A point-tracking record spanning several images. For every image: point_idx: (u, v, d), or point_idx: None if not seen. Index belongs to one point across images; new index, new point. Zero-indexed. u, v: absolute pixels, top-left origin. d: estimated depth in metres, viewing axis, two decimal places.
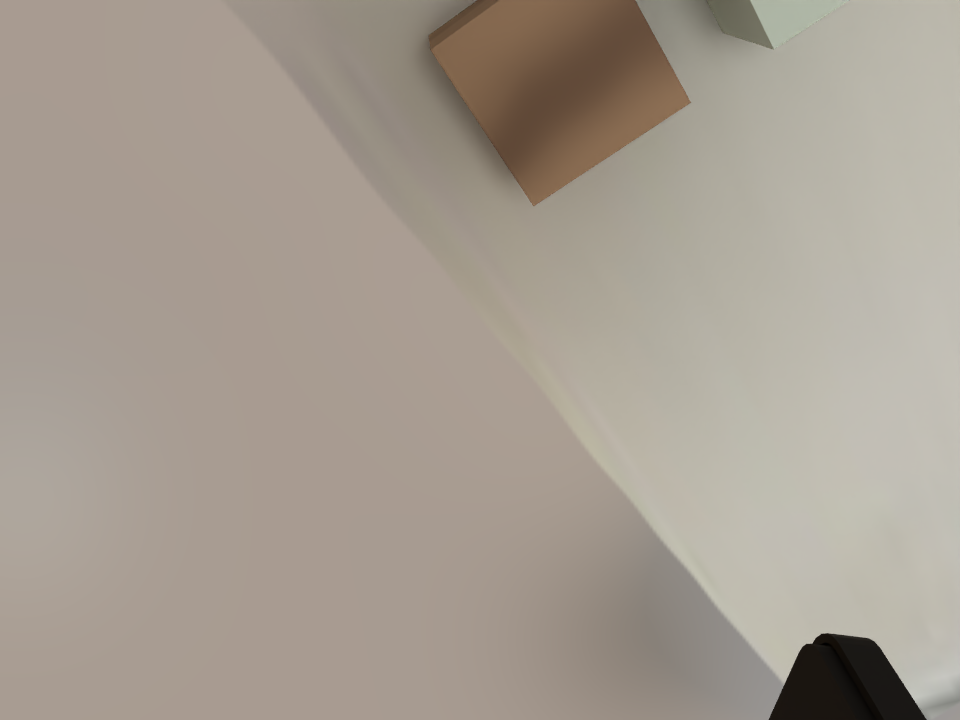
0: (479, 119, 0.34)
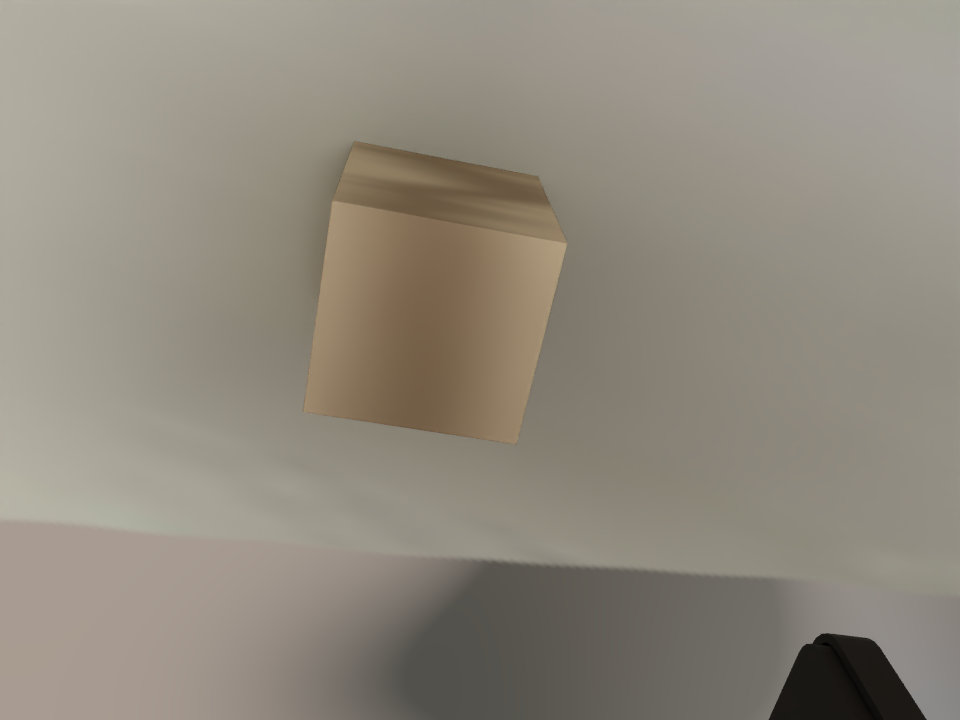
0: None
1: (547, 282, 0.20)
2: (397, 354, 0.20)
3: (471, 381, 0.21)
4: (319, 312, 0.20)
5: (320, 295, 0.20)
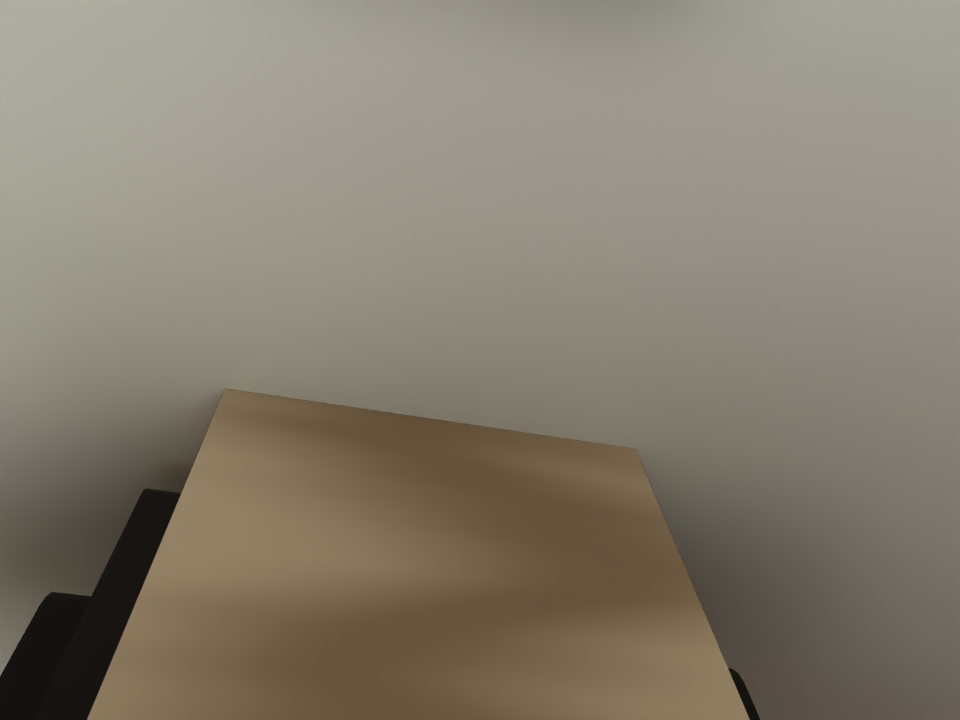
0: None
1: None
2: None
3: None
4: None
5: None
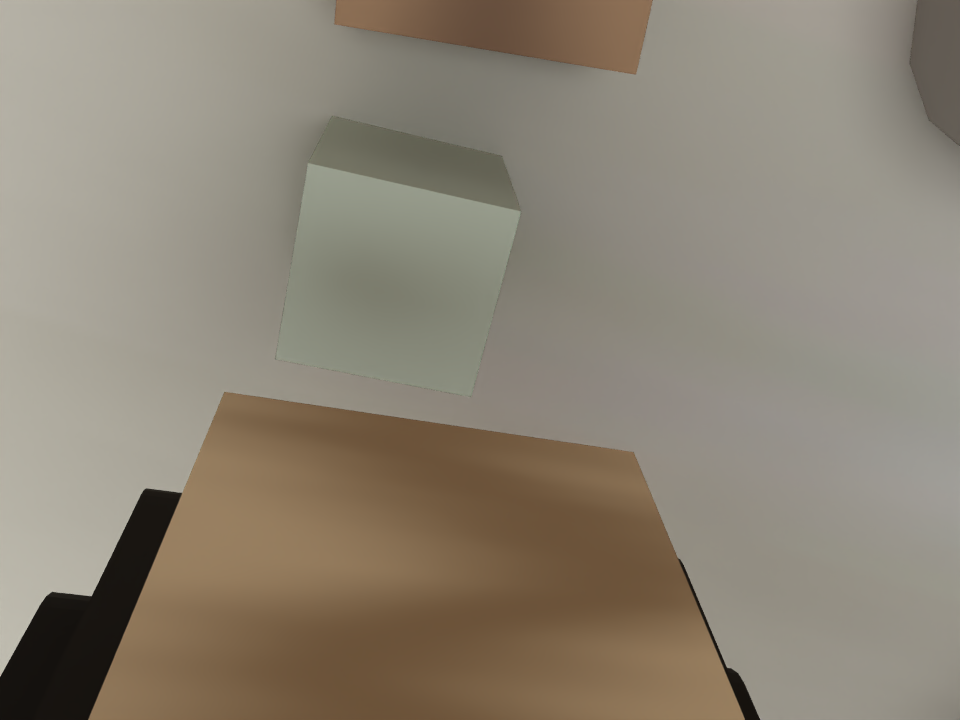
0: None
1: None
2: None
3: None
4: None
5: None
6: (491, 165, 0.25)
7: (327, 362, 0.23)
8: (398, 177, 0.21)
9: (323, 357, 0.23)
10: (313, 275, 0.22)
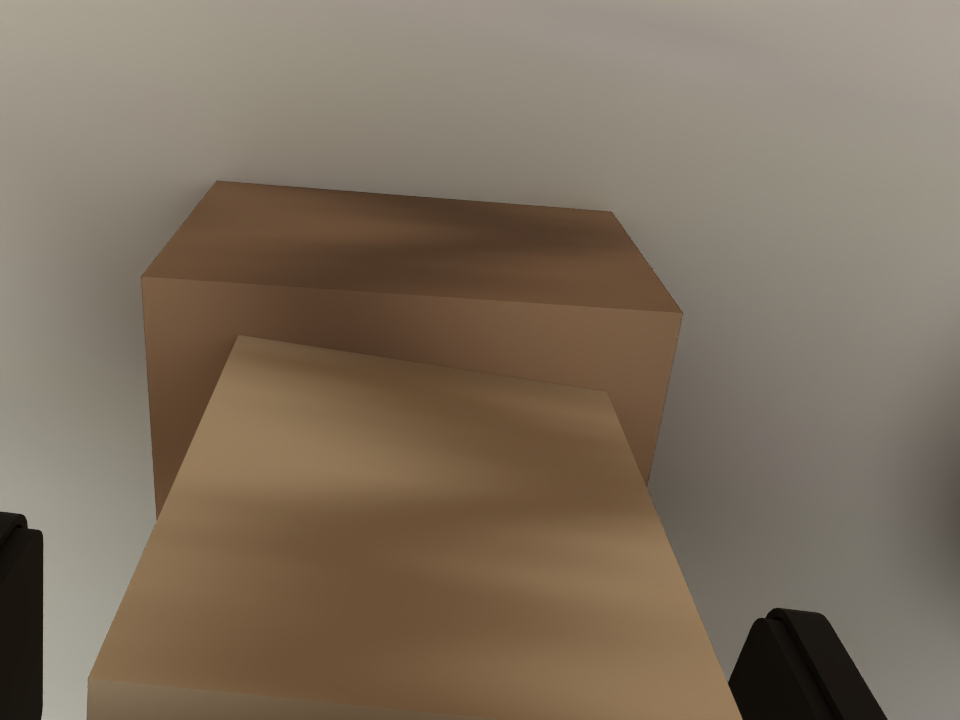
0: (453, 303, 0.12)
1: None
2: None
3: None
4: None
5: None
6: None
7: None
8: None
9: None
10: None
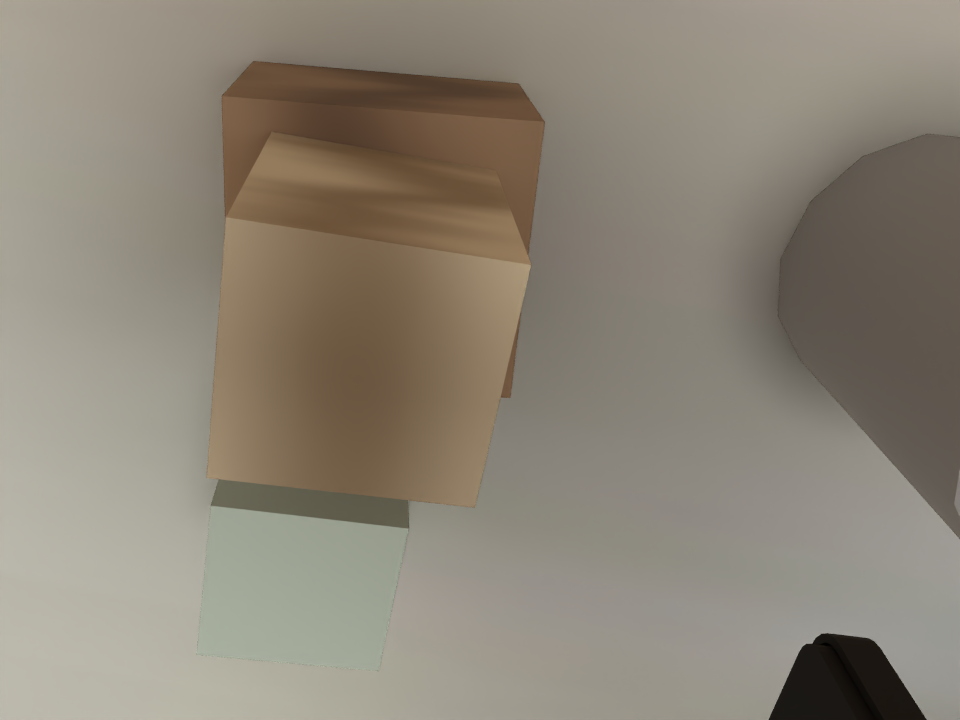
0: (406, 115, 0.20)
1: (507, 313, 0.16)
2: (321, 405, 0.16)
3: (415, 435, 0.16)
4: (218, 357, 0.15)
5: (218, 336, 0.15)
6: None
7: (244, 654, 0.25)
8: (296, 501, 0.23)
9: (240, 650, 0.25)
10: (224, 589, 0.24)
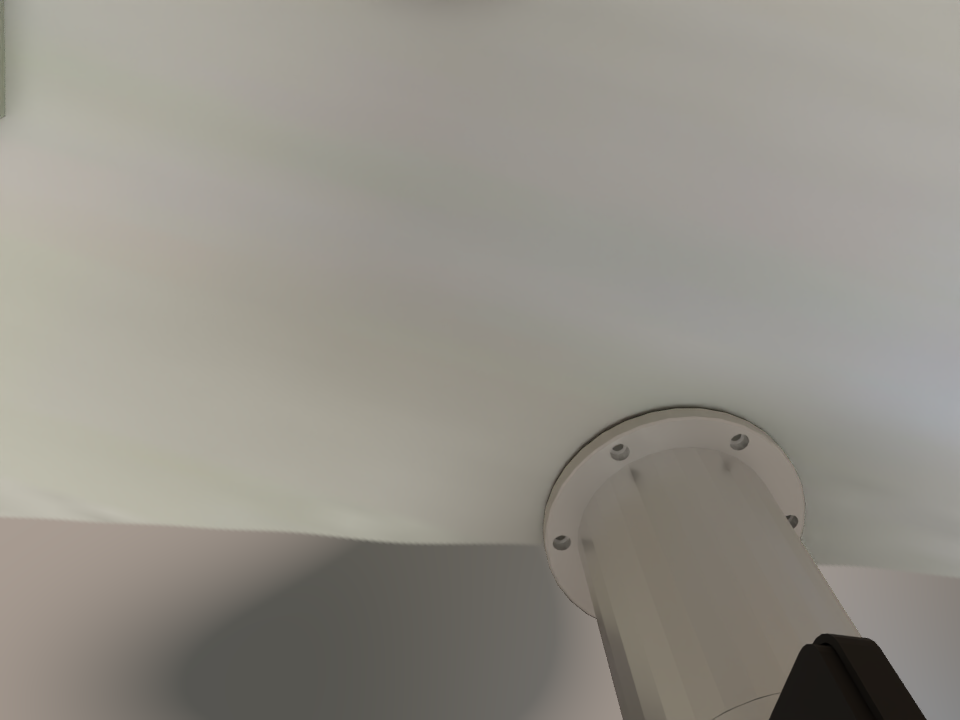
0: None
1: None
2: None
3: None
4: None
5: None
6: None
7: None
8: None
9: None
10: None
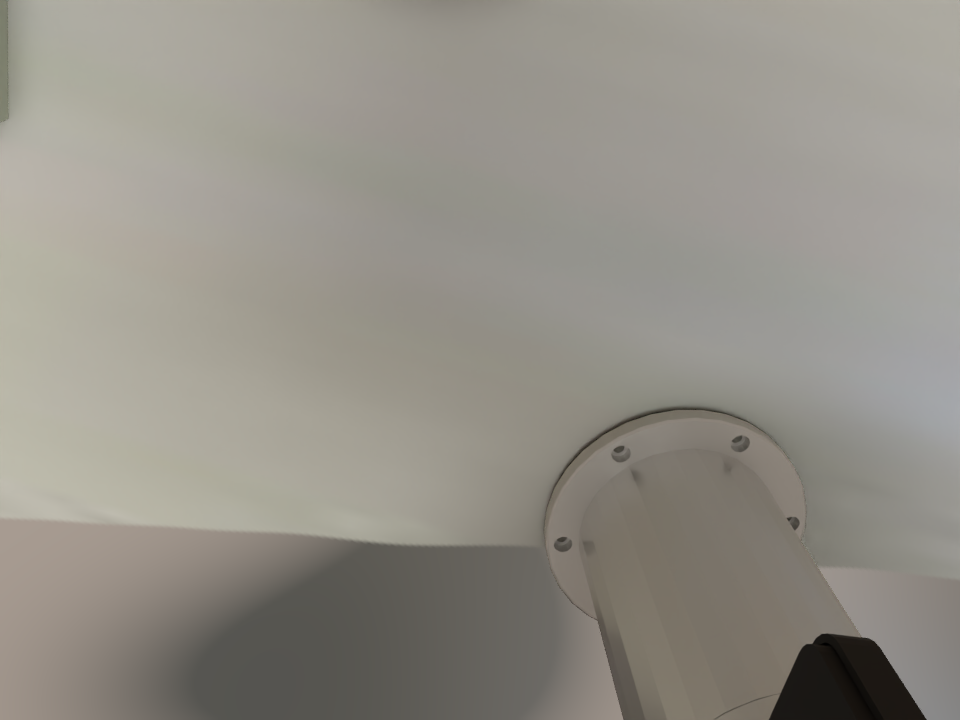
0: None
1: None
2: None
3: None
4: None
5: None
6: None
7: None
8: None
9: None
10: None
